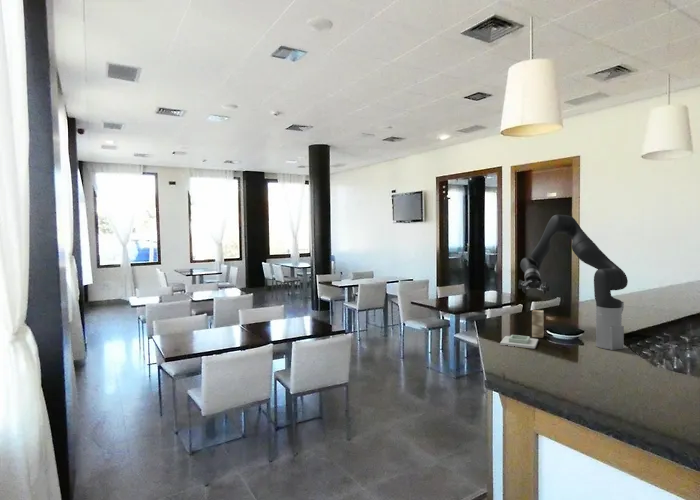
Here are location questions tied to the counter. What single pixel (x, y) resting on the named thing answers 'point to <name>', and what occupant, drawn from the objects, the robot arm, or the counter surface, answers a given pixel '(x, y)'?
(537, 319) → the beige square block
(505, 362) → the counter surface
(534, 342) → the base plate
